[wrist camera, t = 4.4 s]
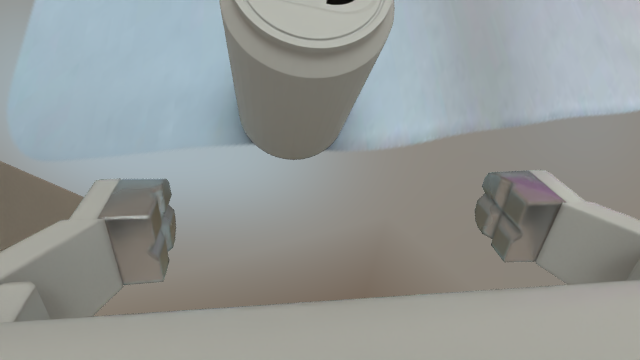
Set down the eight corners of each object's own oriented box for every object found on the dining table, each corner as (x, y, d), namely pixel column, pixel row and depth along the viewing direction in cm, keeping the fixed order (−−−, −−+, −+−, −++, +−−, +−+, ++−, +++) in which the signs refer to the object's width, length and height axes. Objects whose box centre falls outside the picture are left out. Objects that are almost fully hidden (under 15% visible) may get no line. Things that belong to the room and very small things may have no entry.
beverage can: (349, 157, 24) (425, 50, 13) (244, 169, 23) (224, 63, 12) (333, 65, 26) (389, -108, 14) (234, 71, 25) (205, -110, 13)
